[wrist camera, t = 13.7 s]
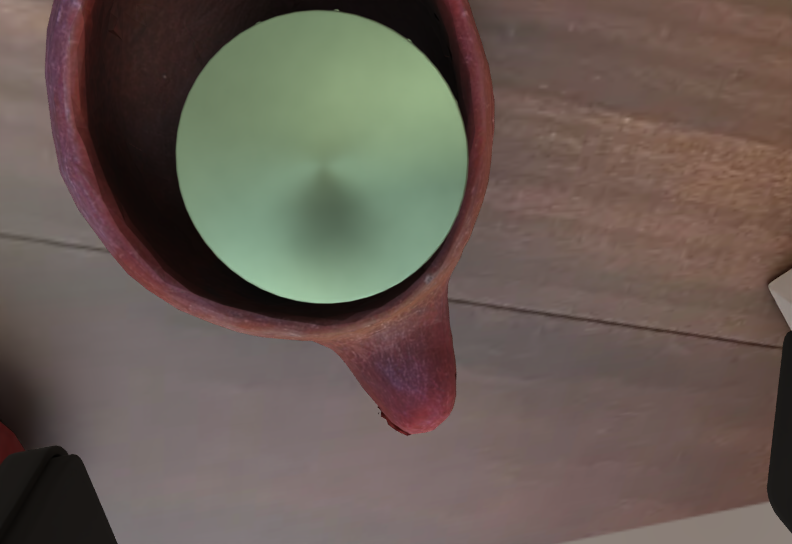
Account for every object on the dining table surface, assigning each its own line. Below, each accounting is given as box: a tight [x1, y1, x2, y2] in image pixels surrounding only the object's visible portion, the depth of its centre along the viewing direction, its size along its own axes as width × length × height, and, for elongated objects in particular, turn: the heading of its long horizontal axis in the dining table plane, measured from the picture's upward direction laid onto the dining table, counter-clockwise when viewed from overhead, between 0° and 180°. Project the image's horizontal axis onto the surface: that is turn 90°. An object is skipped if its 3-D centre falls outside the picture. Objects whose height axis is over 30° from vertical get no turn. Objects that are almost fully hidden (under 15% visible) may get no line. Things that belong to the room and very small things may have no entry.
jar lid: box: [175, 9, 469, 304], centre depth 16 cm, size 7×7×2 cm
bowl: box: [45, 0, 494, 436], centre depth 20 cm, size 16×13×8 cm
